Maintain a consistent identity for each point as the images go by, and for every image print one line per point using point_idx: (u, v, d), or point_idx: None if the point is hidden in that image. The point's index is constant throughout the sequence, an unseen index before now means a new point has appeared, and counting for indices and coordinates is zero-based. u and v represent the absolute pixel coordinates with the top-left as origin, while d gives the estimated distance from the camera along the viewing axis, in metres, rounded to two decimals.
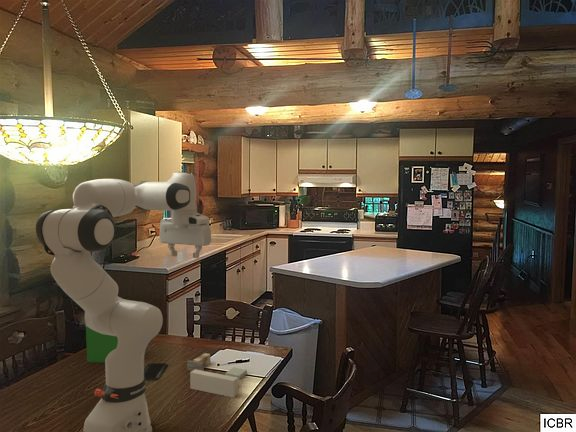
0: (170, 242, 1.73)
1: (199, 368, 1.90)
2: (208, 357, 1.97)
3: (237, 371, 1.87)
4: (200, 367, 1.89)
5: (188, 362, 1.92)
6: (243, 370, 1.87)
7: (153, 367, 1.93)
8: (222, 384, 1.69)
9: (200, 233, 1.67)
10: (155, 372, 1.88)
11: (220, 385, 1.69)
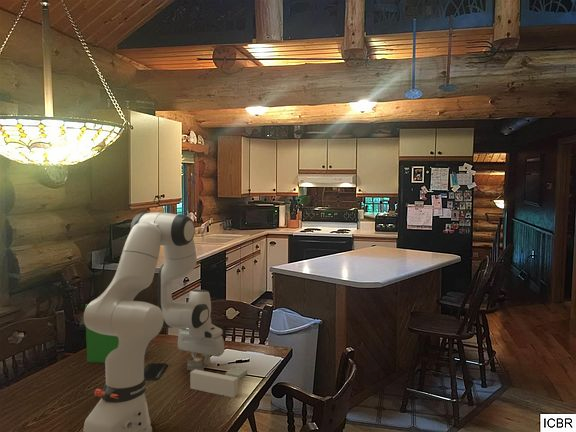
0: (187, 350, 1.95)
1: (199, 368, 1.90)
2: None
3: (237, 371, 1.87)
4: (200, 367, 1.89)
5: (188, 362, 1.92)
6: (243, 370, 1.87)
7: (153, 367, 1.93)
8: (222, 384, 1.69)
9: (214, 345, 1.89)
10: (155, 372, 1.88)
11: (220, 385, 1.69)
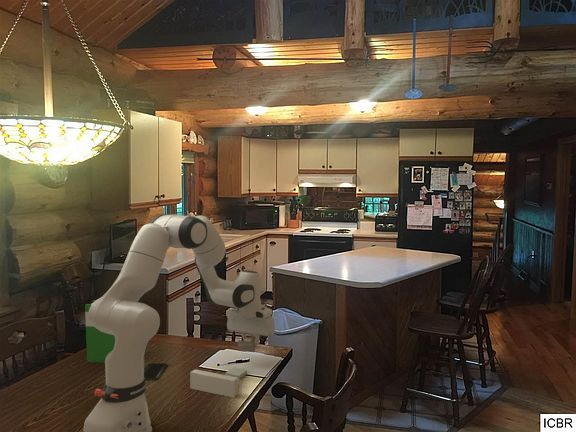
0: (237, 330, 1.96)
1: (250, 347, 1.92)
2: None
3: (237, 371, 1.87)
4: (251, 346, 1.91)
5: (239, 342, 1.94)
6: (243, 370, 1.87)
7: (153, 367, 1.93)
8: (222, 384, 1.69)
9: (266, 325, 1.90)
10: (155, 372, 1.88)
11: (220, 385, 1.69)
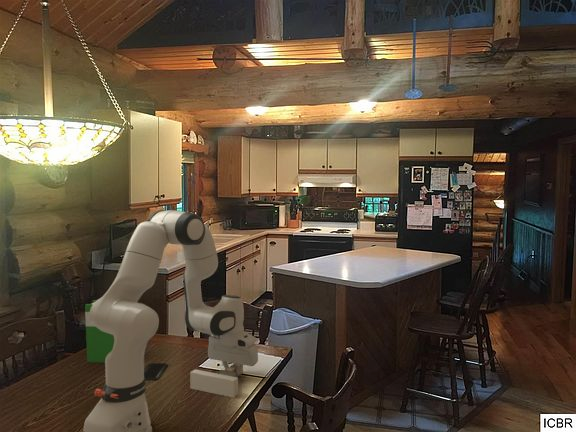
0: (218, 359, 1.84)
1: None
2: None
3: None
4: None
5: (221, 371, 1.82)
6: None
7: (153, 367, 1.93)
8: (222, 384, 1.69)
9: (248, 354, 1.78)
10: (155, 372, 1.88)
11: (220, 385, 1.69)
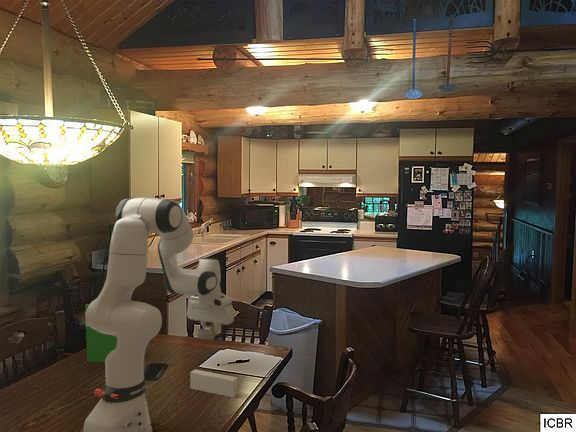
0: (197, 319, 1.93)
1: (210, 336, 1.89)
2: (219, 326, 1.97)
3: None
4: (211, 335, 1.89)
5: (199, 330, 1.91)
6: None
7: (153, 367, 1.93)
8: (222, 384, 1.69)
9: (224, 313, 1.87)
10: (155, 372, 1.88)
11: (220, 385, 1.69)
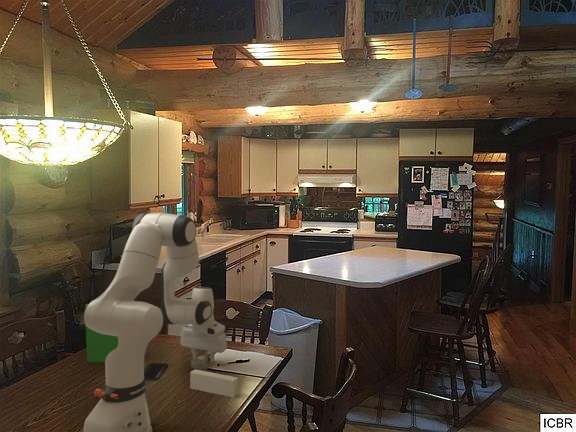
0: (190, 346, 1.96)
1: (203, 366, 1.92)
2: None
3: None
4: (204, 365, 1.92)
5: (192, 360, 1.94)
6: None
7: (153, 367, 1.93)
8: (222, 384, 1.69)
9: (217, 342, 1.90)
10: (155, 372, 1.88)
11: (220, 385, 1.69)
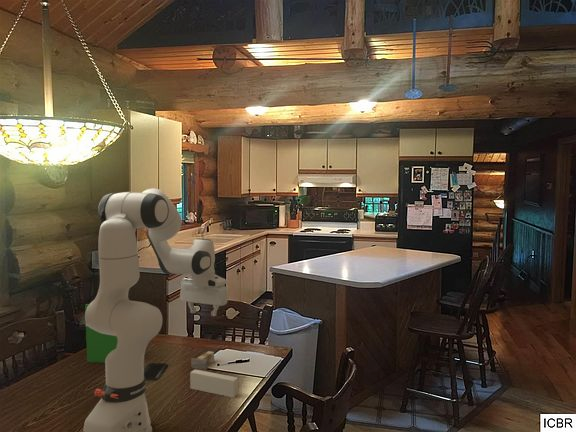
0: (190, 301, 1.91)
1: (203, 366, 1.92)
2: (212, 355, 2.00)
3: None
4: (204, 365, 1.92)
5: (192, 360, 1.94)
6: None
7: (153, 367, 1.93)
8: (222, 384, 1.69)
9: (218, 294, 1.86)
10: (155, 372, 1.88)
11: (220, 385, 1.69)
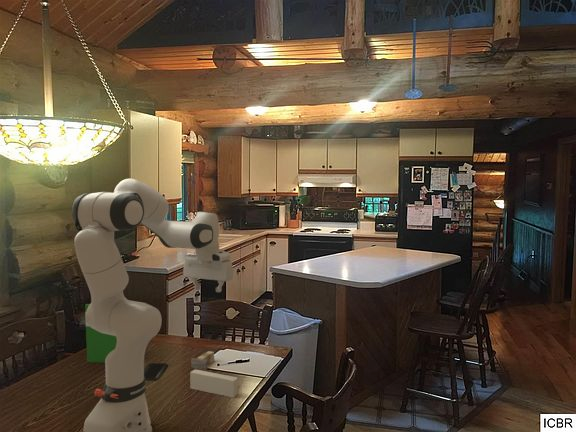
0: (194, 276, 1.83)
1: (203, 366, 1.92)
2: (212, 355, 2.00)
3: None
4: (204, 365, 1.92)
5: (192, 360, 1.94)
6: None
7: (153, 367, 1.93)
8: (222, 384, 1.69)
9: (223, 269, 1.77)
10: (155, 372, 1.88)
11: (220, 385, 1.69)
